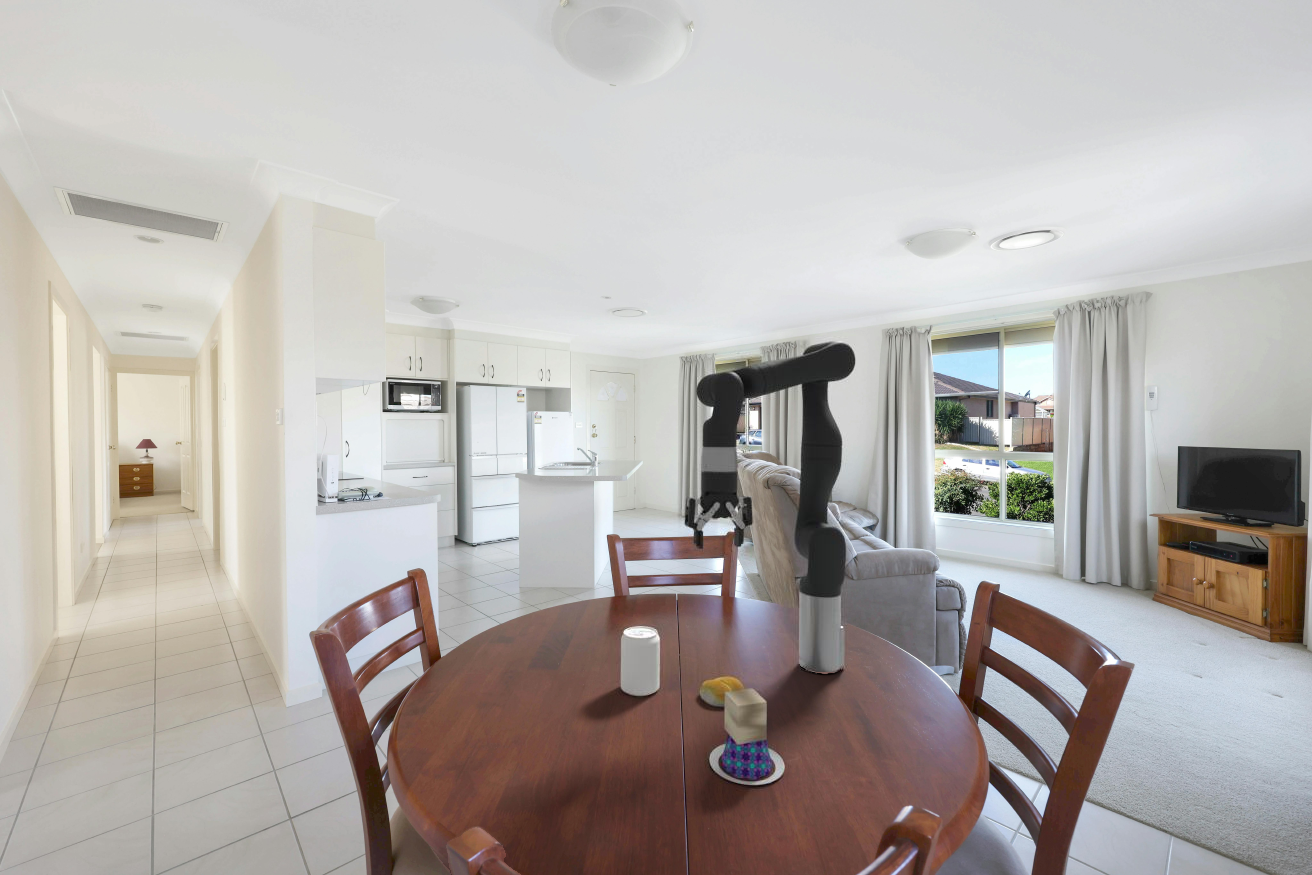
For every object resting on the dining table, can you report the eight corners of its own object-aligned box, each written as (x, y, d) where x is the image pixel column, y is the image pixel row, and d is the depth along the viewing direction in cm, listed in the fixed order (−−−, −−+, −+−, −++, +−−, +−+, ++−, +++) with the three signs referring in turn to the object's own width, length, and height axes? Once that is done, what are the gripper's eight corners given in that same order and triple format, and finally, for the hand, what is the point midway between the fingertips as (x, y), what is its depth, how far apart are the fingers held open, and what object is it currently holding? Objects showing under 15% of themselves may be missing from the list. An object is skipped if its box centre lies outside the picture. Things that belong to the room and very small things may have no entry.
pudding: (783, 750, 94) (784, 719, 94) (785, 794, 82) (785, 759, 82) (713, 741, 96) (713, 711, 96) (705, 783, 85) (705, 749, 85)
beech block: (752, 723, 93) (752, 688, 93) (766, 739, 88) (766, 701, 88) (724, 728, 91) (724, 691, 91) (737, 744, 86) (737, 705, 86)
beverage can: (655, 699, 111) (655, 640, 111) (616, 695, 113) (616, 636, 113) (662, 682, 119) (663, 626, 119) (626, 679, 121) (626, 624, 121)
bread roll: (753, 700, 112) (753, 680, 112) (718, 712, 107) (719, 691, 107) (726, 684, 119) (726, 666, 119) (692, 695, 114) (693, 675, 114)
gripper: (742, 467, 120) (742, 542, 120) (680, 468, 116) (680, 545, 116) (758, 469, 113) (758, 549, 113) (693, 470, 109) (692, 552, 109)
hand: (718, 547), depth 114 cm, fingers open, 8 cm apart
